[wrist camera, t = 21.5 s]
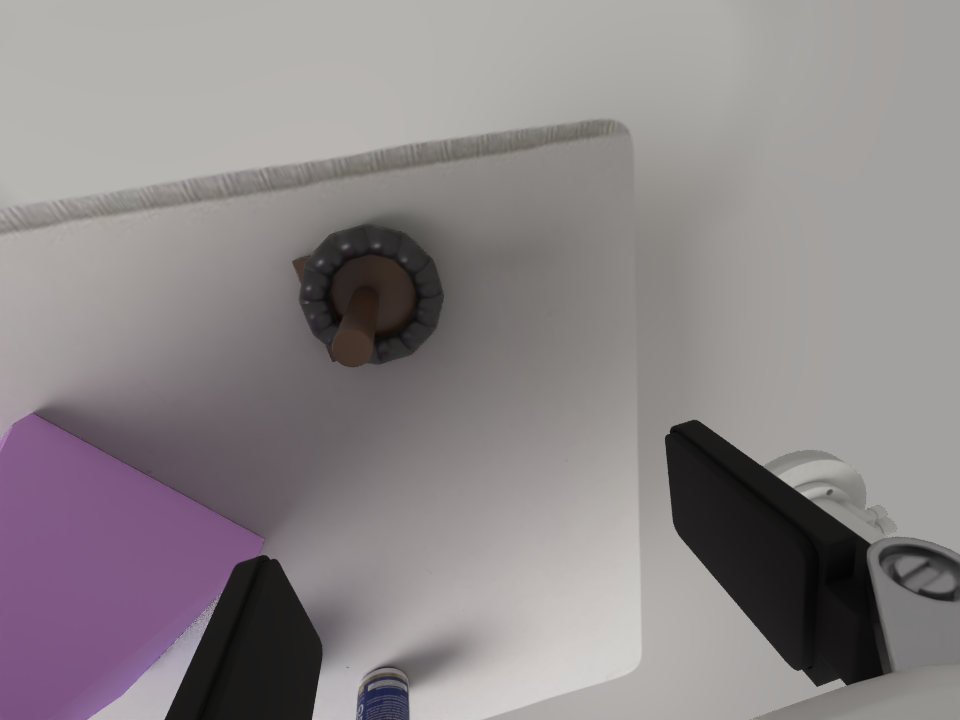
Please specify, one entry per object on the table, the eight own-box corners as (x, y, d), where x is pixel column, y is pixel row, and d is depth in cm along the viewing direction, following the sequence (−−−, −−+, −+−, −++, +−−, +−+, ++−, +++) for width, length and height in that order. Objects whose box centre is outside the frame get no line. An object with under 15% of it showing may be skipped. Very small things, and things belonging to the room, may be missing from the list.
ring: (418, 208, 32) (419, 209, 30) (455, 336, 35) (458, 343, 34) (280, 247, 31) (273, 250, 29) (333, 373, 35) (330, 383, 33)
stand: (400, 231, 33) (405, 248, 21) (430, 329, 36) (450, 394, 24) (294, 259, 32) (236, 294, 20) (334, 358, 35) (303, 439, 23)
